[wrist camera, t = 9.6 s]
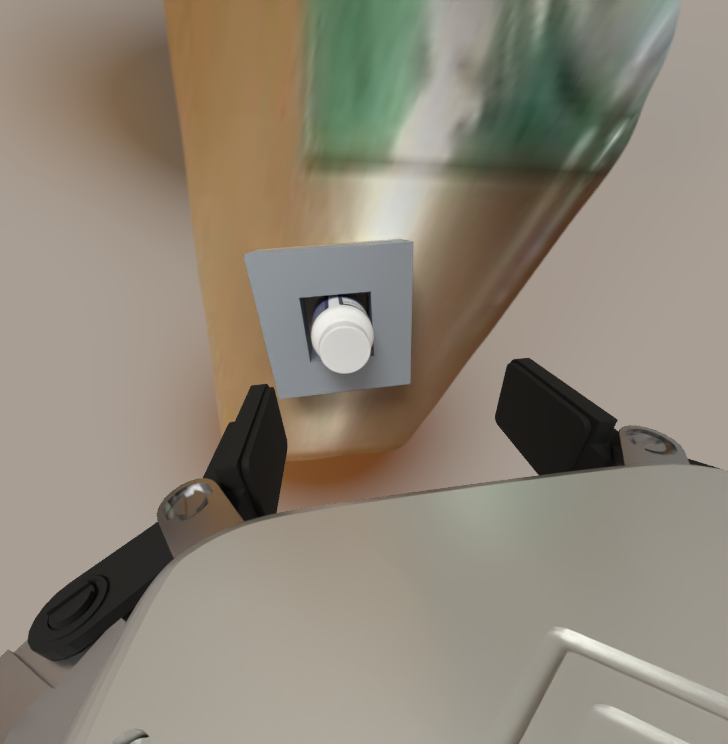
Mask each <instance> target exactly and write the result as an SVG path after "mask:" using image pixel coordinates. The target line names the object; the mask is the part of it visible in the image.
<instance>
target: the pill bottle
mask: <svg viewBox="0 0 728 744" xmlns="http://www.w3.org/2000/svg"><path fill="white" fill-rule="evenodd" d="M311 340H312V344H313V347H314V349H315V351H316V353H317V354H318V355H319V356H320V358H321V360H322V362H323V363H324V365H325V366H326V367H327V368H329V369H330V370H332V371H334V372H337V373H342V374H347V373H352V372H355V371H357V370H359V369H360V368H362V367H363V366H364V365H365V364H366V362H367V361H368V359H369V357H370V353H371V348H372V345H373V341H374V331H373V327H372V324H371V321H370V319H369V317H368V315H367V313H366V311H365V309H364V307H363V305H362V303H361V301H360V300H359V299H358V298H357V297H356V296H355V295H354V294H352V293H348V294H337V295H326V296H322V297H320V299H319V300H318V301H317V303H316V305H315V308H314V311H313V320H312V329H311Z"/></svg>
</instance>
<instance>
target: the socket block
mask: <svg viewBox="0 0 728 744" xmlns="http://www.w3.org/2000/svg"><path fill="white" fill-rule="evenodd" d="M244 259H245V263H246V267H247V271H248V275H249V279H250V283H251V287H252V291H253V296H254V300H255V304H256V308H257V312H258V316H259V320H260V324H261V328H262V332H263V336H264V340H265V344H266V348H267V352H268V356H269V360H270V364H271V368H272V372H273V376H274V380H275V384H276V388H277V392H278V396H279V399H285V398H294V397H302V396H311V395H319V394H328V393H336V392H345V391H354V390H362V389H371V388H379V387H388V386H397V385H405V384H410V375H411V326H412V277H413V242H412V241H407V240H402V239H392V240H379V241H366V242H353V243H340V244H327V245H314V246H301V247H287V248H274V249H261V250H255V251H252V252H250V253H247V254H244ZM348 293H352V294H354V295H355V296H356V297H357V298H358V299H359V300H360V301H361V303H362V305H363V307H364V309H365V311H366V313H367V315H368V317H369V319H370V321H371V324H372V327H373V331H374V341H373V345H372V348H371V353H370V357H369V359H368V361H367V362H366V364H365V365H364V366H363V367H362V368H360V369H359V370H357V371H355V372H352V373H347V374H342V373H337V372H334V371H332V370H330V369H329V368H327V367H326V366H325V365H324V363H323V362H322V360H321V358H320V356H319V355H318V354H317V353H316V351H315V349H314V347H313V344H312V340H311V329H312V320H313V311H314V308H315V305H316V303H317V301H318V300H319V299H320V297H322V296H326V295H337V294H348Z"/></svg>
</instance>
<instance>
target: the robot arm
mask: <svg viewBox="0 0 728 744" xmlns="http://www.w3.org/2000/svg"><path fill="white" fill-rule="evenodd" d="M495 420H496V423H497V425H498V426H499V427H500V428H501V430H502V431H503V432H504V433H505V434H506V436H507V437H508V438H509V439H510V441H511V442H512V443H513V444H514V445H515V447H516V448H517V449H518V450H519V452H520V453H521V454H522V455H523V456H524V458H525V459H526V460H527V461H528V462H529V464H530V465H531V466H532V467H533V469H534V470H535V471H536V472H537V473H538V475H539V476H531V477H524V478H516V479H508V480H501V481H493V482H486V483H478V484H471V485H463V486H456V487H448V488H441V489H434V490H426V491H420V492H412V493H405V494H398V495H391V496H383V497H377V498H370V499H362V500H355V501H348V502H341V503H335V504H328V505H322V506H316V507H309V508H304V509H297V510H291V511H286V512H281V513H276V512H277V506H278V500H279V494H280V488H281V482H282V477H283V471H284V464H285V459H286V454H287V438H286V434H285V430H284V426H283V422H282V418H281V414H280V410H279V406H278V402H277V398H276V394H275V390H274V388H273V387H269V386H268V384H261V385H252V386H251V387H250V389H249V391H248V394H247V396H246V398H245V400H244V403H243V405H242V407H241V409H240V412H239V414H238V416H237V418H236V421H235V422H230V423H229V424H228V426H227V428H226V430H225V432H224V434H223V436H222V439H221V441H220V443H219V445H218V447H217V449H216V451H215V453H214V456H213V458H212V460H211V462H210V464H209V466H208V468H207V470H206V472H205V474H204V476H203V478H202V479H201V478H200V479H195V480H191V481H188V482H186V483H184V484H182V485H180V486H179V487H177V488H176V489H174V490H173V491H172V492H170V494H169V495H167V496H166V497H165V498H164V500H163V501H162V503H161V504H160V506H159V508H158V512H157V520H158V522H157V523H155V524H154V525H153V526H151V527H150V528H148V529H147V530H145V531H144V532H143V533H141V534H140V535H138V536H137V537H135V538H134V539H132V540H131V541H129V542H128V543H127V544H125V545H124V546H122V547H121V548H119V549H118V550H116V551H115V552H114V553H112V554H111V555H109V556H108V557H106V558H105V559H104V560H102V561H101V562H99V563H98V564H96V565H95V566H94V567H92V568H91V569H89V570H88V571H86V572H85V573H83V574H82V575H80V576H79V577H78V578H76V579H75V580H73V581H72V582H70V583H69V584H68V585H66V586H65V587H64V588H63V589H62V590H60V591H59V592H58V593H57V594H55V596H53V597H52V599H51V600H50V601H49V602H48V603H47V604H46V605H45V606H44V607H43V608H42V610H41V611H40V613H39V614H38V615H37V617H36V618H35V620H34V622H33V624H32V626H31V628H30V631H29V635H28V640H27V641H26V642H25V643H24V644H23V645H21V646H20V647H19V648H18V649H17V650H16V651H15V652H12V651H10V650H7V651H6V652H5V653H4V654H3V655H2V656H1V657H0V744H728V471H726V470H722V469H719V468H716V467H713V466H709V465H707V464H703V463H700V462H697V461H694V460H691V459H687V456H686V454H685V452H684V450H683V448H682V447H681V445H680V444H678V443H677V442H676V441H675V440H673V439H672V438H670V437H668V436H667V435H665V434H662V433H660V432H658V431H656V430H653V429H649V428H646V427H641V426H630V425H629V426H624V427H622V428H621V429H620V430H619V432H618V431H617V430H616V429H614V426H615V424H616V422H617V419H616V418H614V417H613V416H611V415H610V414H608V413H607V412H605V411H604V410H603V409H601V408H600V407H598V406H597V405H596V404H594V403H593V402H591V401H590V400H588V399H587V398H586V397H584V396H583V395H581V394H580V393H578V392H577V391H576V390H574V389H573V388H571V387H570V386H568V385H567V384H566V383H564V382H563V381H561V380H560V379H558V378H557V377H556V376H554V375H553V374H551V373H550V372H548V371H547V370H546V369H544V368H543V367H541V366H540V365H538V364H537V363H536V362H534V361H533V360H531V359H529V358H523V359H514V360H512V361H511V363H509V364H508V365H507V368H506V372H505V376H504V381H503V385H502V389H501V393H500V398H499V402H498V406H497V410H496V414H495ZM147 737H149V738H147Z"/></svg>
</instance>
